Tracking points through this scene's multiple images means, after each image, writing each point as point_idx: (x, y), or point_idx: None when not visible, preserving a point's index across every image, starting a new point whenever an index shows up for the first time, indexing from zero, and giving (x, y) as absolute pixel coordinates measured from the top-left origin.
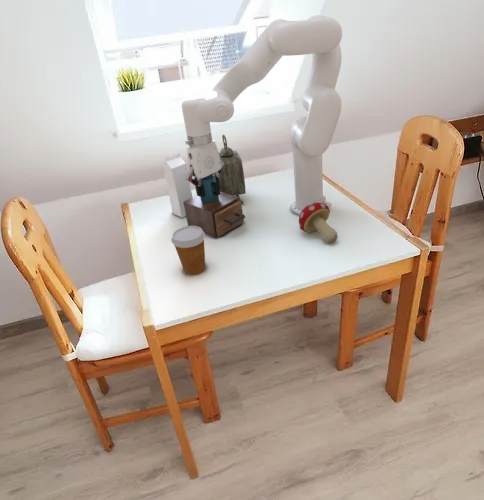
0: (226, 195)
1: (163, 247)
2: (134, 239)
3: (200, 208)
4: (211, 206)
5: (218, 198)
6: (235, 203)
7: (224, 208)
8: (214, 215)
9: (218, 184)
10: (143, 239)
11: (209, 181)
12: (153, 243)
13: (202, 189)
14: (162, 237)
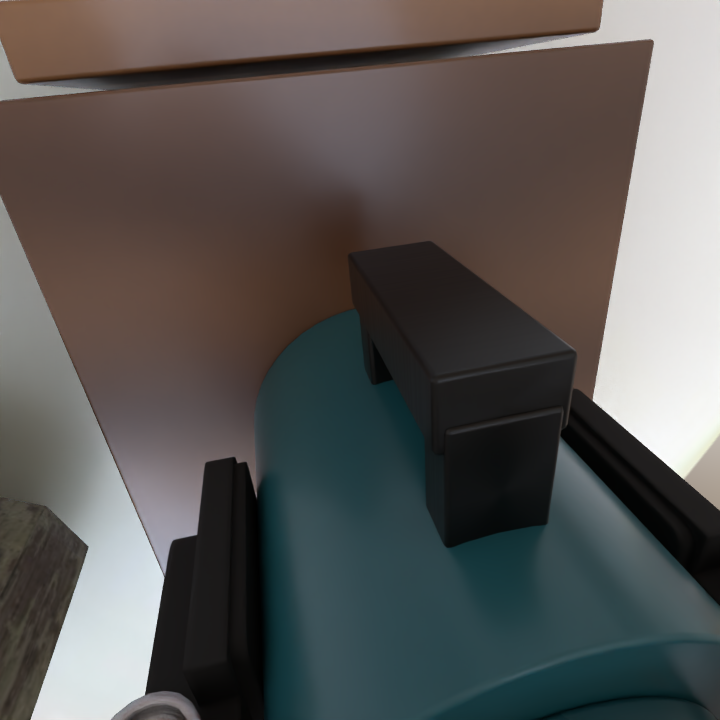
0: (135, 349)
1: (713, 276)
2: (694, 462)
3: (611, 283)
4: (514, 208)
5: (294, 341)
6: (133, 28)
7: (386, 37)
8: (592, 12)
9: (437, 355)
10: (679, 434)
11: (637, 576)
12: (695, 361)
13: (669, 474)
14: (625, 385)
